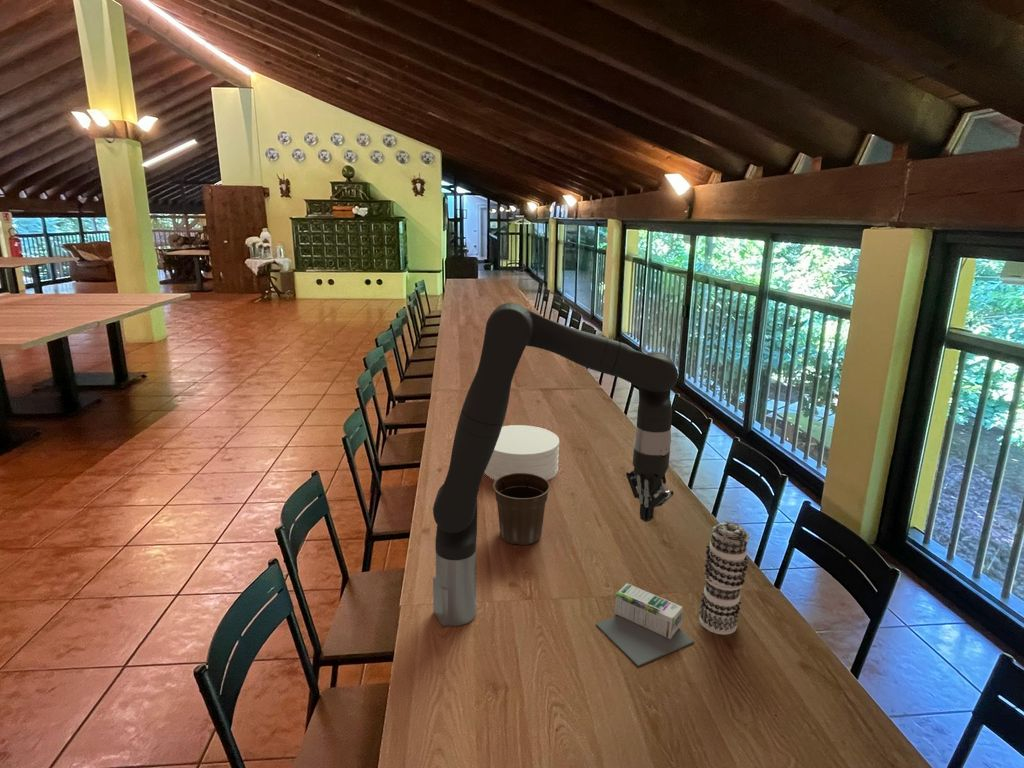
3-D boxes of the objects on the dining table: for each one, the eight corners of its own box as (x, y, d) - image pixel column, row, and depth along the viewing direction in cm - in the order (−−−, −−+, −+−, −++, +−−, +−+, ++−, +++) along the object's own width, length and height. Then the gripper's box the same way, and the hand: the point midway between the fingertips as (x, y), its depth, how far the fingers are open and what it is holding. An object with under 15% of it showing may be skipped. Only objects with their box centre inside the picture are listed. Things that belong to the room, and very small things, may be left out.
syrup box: (626, 582, 148) (683, 605, 140) (625, 603, 150) (681, 627, 141) (615, 593, 144) (673, 618, 136) (613, 614, 146) (671, 640, 137)
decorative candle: (689, 615, 146) (700, 521, 139) (719, 606, 150) (732, 514, 143) (715, 640, 138) (728, 541, 131) (747, 629, 142) (762, 533, 135)
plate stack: (473, 481, 214) (473, 450, 211) (489, 450, 240) (490, 422, 237) (553, 488, 210) (555, 457, 206) (561, 456, 236) (562, 428, 233)
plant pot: (517, 556, 169) (519, 504, 164) (481, 533, 181) (481, 483, 176) (559, 537, 179) (561, 486, 175) (522, 515, 191) (523, 468, 186)
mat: (638, 666, 130) (638, 665, 130) (595, 624, 142) (595, 623, 142) (693, 642, 137) (694, 641, 137) (649, 604, 150) (649, 603, 150)
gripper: (617, 439, 134) (613, 511, 139) (660, 461, 123) (653, 538, 128) (644, 433, 137) (639, 503, 142) (687, 454, 126) (680, 529, 131)
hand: (646, 519), depth 135 cm, fingers closed
